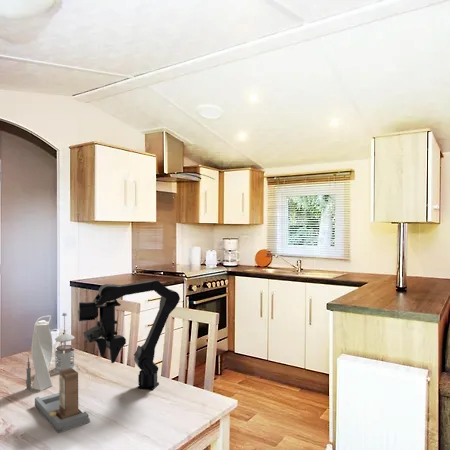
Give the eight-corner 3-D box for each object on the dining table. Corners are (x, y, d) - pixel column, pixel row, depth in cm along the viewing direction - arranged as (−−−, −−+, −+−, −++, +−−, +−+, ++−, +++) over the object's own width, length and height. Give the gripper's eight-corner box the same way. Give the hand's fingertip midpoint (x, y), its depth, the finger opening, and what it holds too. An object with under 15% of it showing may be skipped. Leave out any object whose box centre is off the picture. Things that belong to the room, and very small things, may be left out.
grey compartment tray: (33, 406, 139) (33, 396, 139) (63, 397, 145) (63, 388, 145) (56, 433, 121) (56, 421, 121) (89, 422, 127) (89, 410, 127)
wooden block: (56, 415, 130) (56, 371, 130) (74, 409, 134) (74, 367, 134) (62, 422, 125) (62, 376, 125) (81, 416, 129) (81, 372, 129)
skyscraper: (43, 382, 161) (42, 313, 161) (57, 385, 157) (57, 315, 157) (25, 390, 153) (24, 318, 153) (39, 394, 150) (39, 320, 150)
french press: (53, 374, 168) (53, 316, 168) (51, 366, 179) (51, 311, 179) (78, 370, 173) (77, 313, 173) (74, 362, 183) (74, 308, 183)
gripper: (76, 317, 150) (76, 358, 150) (96, 326, 136) (97, 371, 136) (104, 313, 157) (104, 352, 157) (126, 321, 143) (126, 364, 143)
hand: (107, 359), depth 148 cm, fingers open, 9 cm apart
